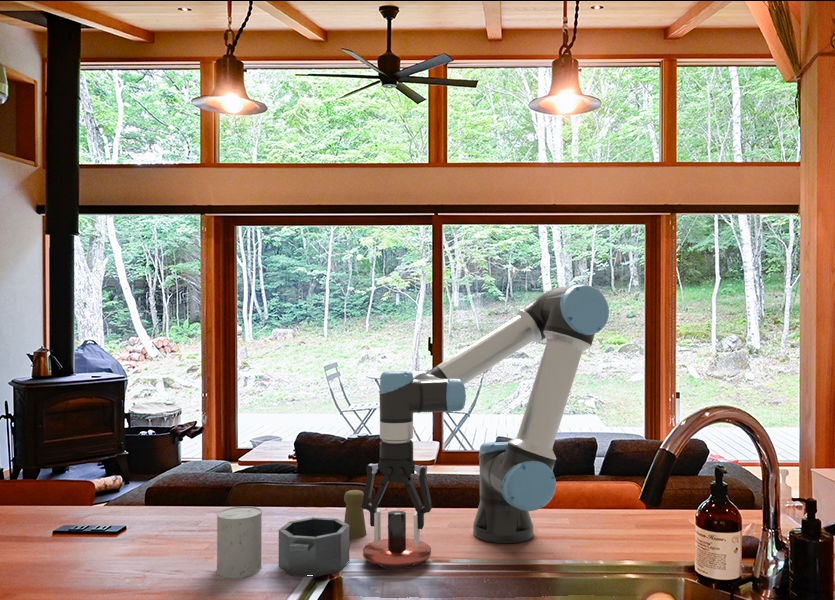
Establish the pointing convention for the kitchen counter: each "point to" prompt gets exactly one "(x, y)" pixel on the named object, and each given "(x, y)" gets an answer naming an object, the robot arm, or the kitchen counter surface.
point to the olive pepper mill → (355, 514)
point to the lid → (396, 546)
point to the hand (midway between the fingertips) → (397, 542)
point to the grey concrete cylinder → (239, 541)
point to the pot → (313, 546)
